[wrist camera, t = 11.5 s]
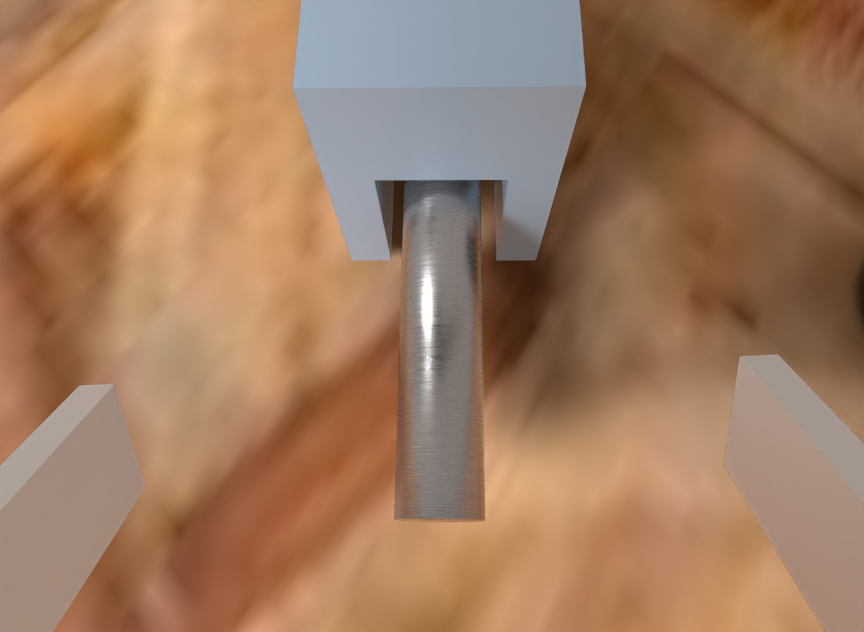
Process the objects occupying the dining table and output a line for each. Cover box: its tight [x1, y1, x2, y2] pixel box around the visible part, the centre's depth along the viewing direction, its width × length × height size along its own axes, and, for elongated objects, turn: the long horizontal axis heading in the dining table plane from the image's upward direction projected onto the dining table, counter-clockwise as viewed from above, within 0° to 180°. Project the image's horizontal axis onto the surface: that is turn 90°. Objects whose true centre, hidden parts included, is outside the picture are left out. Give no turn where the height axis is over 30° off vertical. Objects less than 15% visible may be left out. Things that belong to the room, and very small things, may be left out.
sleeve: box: [293, 0, 586, 260], centre depth 22 cm, size 6×7×10 cm
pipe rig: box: [394, 180, 485, 522], centre depth 24 cm, size 25×7×7 cm, turn 179°
